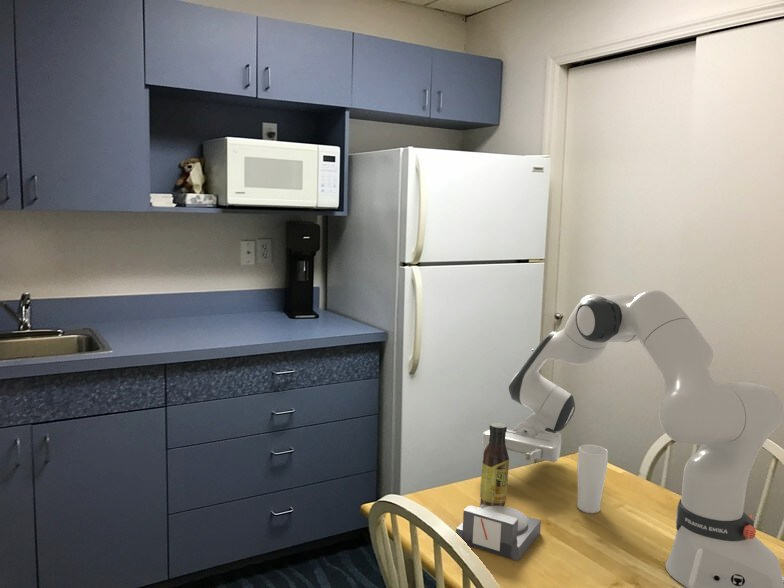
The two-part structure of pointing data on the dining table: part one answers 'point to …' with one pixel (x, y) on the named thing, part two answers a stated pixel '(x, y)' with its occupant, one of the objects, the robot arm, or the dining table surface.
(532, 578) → the dining table surface
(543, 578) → the dining table surface
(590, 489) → the drinking glass
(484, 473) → the sauce bottle
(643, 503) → the dining table surface
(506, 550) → the kitchen scale
